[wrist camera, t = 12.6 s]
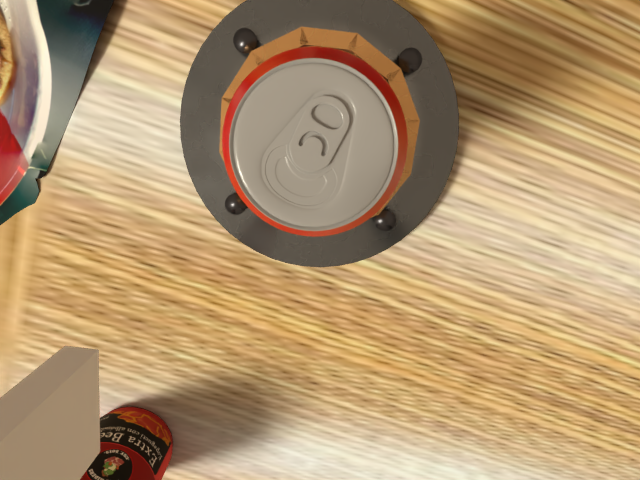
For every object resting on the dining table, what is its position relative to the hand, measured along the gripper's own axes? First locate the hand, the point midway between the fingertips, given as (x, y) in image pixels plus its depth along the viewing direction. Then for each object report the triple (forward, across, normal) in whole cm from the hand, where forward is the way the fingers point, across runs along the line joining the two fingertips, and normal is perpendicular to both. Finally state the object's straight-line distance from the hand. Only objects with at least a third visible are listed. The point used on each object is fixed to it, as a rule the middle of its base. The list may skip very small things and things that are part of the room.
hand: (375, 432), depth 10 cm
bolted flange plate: (+24, +3, -6) cm, 25 cm away
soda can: (+23, +3, -6) cm, 24 cm away
